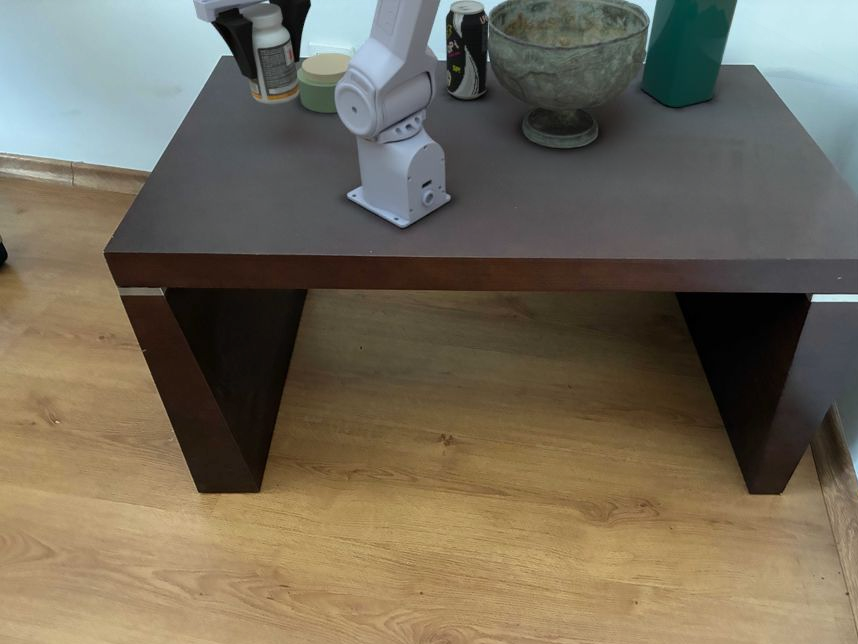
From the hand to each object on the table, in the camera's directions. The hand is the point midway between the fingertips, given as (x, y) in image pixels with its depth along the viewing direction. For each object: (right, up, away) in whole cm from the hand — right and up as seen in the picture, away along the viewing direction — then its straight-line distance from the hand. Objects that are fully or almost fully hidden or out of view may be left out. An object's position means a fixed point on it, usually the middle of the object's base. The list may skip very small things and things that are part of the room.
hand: (271, 67), depth 84 cm
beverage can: (+23, +4, +19) cm, 30 cm away
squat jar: (+4, +3, +17) cm, 18 cm away
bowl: (+35, -4, +11) cm, 37 cm away
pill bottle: (0, -3, +2) cm, 4 cm away
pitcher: (+53, +3, +19) cm, 57 cm away
